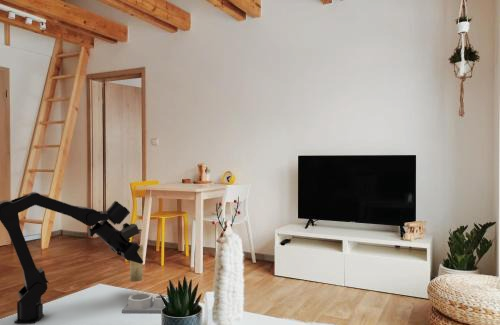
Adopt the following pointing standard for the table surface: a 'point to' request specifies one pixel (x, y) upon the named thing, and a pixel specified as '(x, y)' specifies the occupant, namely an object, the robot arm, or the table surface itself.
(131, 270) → the gold metal cylinder
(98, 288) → the table surface
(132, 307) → the manifold plate
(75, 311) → the table surface
